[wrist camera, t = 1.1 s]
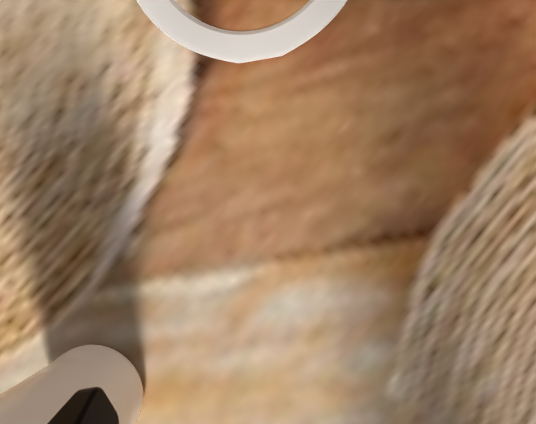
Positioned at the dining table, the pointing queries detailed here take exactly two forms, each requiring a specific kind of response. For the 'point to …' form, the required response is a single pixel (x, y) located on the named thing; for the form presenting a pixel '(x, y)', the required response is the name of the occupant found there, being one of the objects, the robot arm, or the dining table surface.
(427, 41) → the dining table surface
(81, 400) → the robot arm
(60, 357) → the drinking glass
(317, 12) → the candle holder
